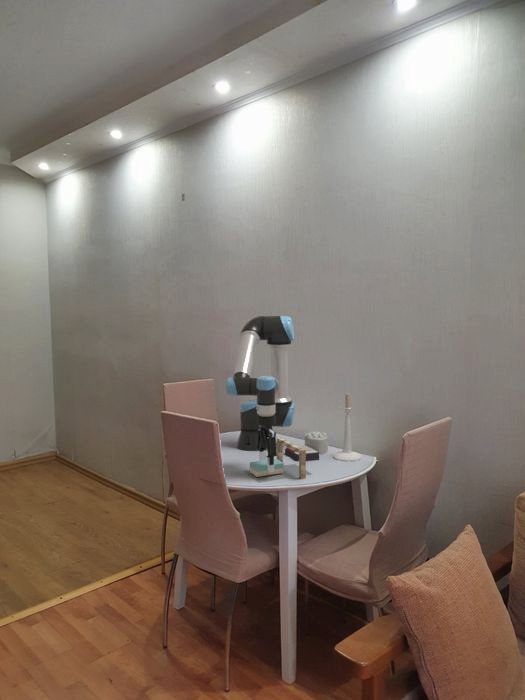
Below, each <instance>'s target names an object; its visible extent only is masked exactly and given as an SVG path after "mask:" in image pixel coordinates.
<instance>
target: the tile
mask: <svg viewBox="0 0 525 700" xmlns="http://www.w3.org/2000/svg"><path fill="white" fill-rule="evenodd" d="M284 465H285V463H284V461H283V462H281V461H279V460H278V459H277V458H274V472H271V473H267V459H266V460H263V461H260V460H257V461H250V462H249V470H250V472H251V473H252V474H254V475H255V476H256V477H259V476H265V475H272V474H279V473H284Z"/></svg>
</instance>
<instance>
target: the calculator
mask: <svg viewBox="0 0 525 700" xmlns="http://www.w3.org/2000/svg"><path fill="white" fill-rule="evenodd" d="M297 446H298V447H300V448H302V449H304V450H306V462H312V461H320V455H319V452H317V451H315V450H314V449H312V448H309V447H308V446H305V445H297ZM284 454H285V455H286V456H287V457H290V458H291V459H293V460H294V461H295V462H299V453H297V452H296V451H294V450H292V449H290V448H288V447H286V446H285V448H284Z"/></svg>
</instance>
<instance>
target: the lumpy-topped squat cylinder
mask: <svg viewBox="0 0 525 700" xmlns="http://www.w3.org/2000/svg"><path fill="white" fill-rule="evenodd" d="M304 446H308V447H309V448H312V449H314V450H315V451H317V452H319V454H320V455H325V454H327V453H328V452H329V438H328V436H327V433H326V432H321V431H309V432H308V433H305V434H304Z"/></svg>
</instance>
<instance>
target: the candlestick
mask: <svg viewBox="0 0 525 700" xmlns="http://www.w3.org/2000/svg"><path fill="white" fill-rule="evenodd" d="M344 396H345V397H344V398H345V400H344V401H345V403H344V404H345V405H344V406H345V407H343V409H344V413H345V415H344V417H345V418H344V419H345V420H344V431H343V432H344V433H343V434H344V436H343V449H342V451H338V452H335V453H334V454H333V456H332V458H333V459H334V460H337V461H339V460H340V462H347V461H351V462H357V461H356V460H358V461H360V460H359V459H361V458H362V455H361V454H359V453H358V452H356V451H352V439H351V438H352V437H351V436H352V435H351V417H350V416H351V415H350V413H351V409H352V407H351V404H350V403H351V402H350V401H351V393H349V392H347V393H345V395H344ZM362 459H363V458H362ZM362 459H361V460H362Z"/></svg>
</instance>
